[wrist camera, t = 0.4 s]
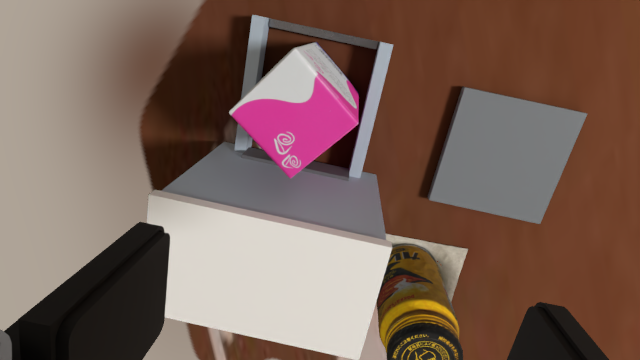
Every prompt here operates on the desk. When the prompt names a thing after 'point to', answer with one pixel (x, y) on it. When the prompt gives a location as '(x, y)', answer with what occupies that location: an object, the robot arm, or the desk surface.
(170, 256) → the dispenser
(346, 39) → the bar
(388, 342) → the condiment
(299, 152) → the supplement box
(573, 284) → the desk surface
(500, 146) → the coaster
